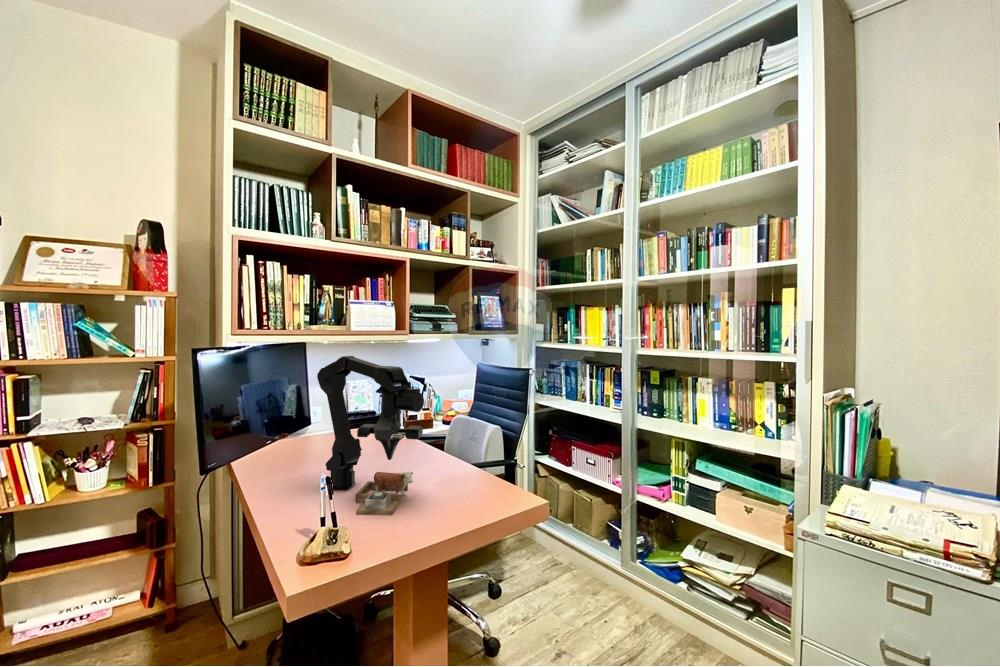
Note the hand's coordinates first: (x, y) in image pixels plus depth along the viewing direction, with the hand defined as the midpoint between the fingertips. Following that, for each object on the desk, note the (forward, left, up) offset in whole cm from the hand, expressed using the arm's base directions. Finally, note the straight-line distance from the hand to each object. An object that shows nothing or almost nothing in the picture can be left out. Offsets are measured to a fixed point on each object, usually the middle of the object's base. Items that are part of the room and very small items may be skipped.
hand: (389, 459), depth 125 cm
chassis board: (-2, -2, -12) cm, 12 cm away
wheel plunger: (-1, -8, -11) cm, 13 cm away
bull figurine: (+1, +1, -12) cm, 12 cm away
